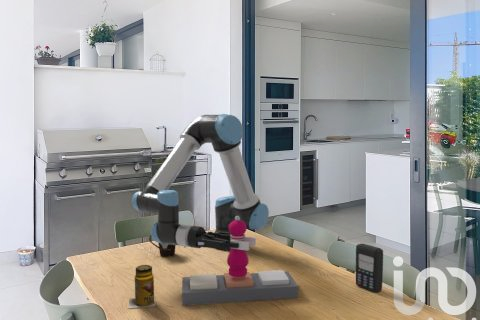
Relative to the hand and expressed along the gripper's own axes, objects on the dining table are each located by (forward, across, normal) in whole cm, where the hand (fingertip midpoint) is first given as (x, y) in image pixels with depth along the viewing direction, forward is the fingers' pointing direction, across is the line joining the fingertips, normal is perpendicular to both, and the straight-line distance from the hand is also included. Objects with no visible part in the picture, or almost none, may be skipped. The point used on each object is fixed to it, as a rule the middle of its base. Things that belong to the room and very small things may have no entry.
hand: (251, 243), depth 143 cm
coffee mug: (-53, -26, -18) cm, 62 cm away
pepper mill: (-5, 0, -11) cm, 12 cm away
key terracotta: (-5, 0, -15) cm, 16 cm away
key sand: (-15, +6, -15) cm, 23 cm away
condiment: (-31, +19, -18) cm, 41 cm away
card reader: (+35, -22, -18) cm, 44 cm away
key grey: (+5, -7, -15) cm, 17 cm away
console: (-5, 0, -18) cm, 19 cm away
